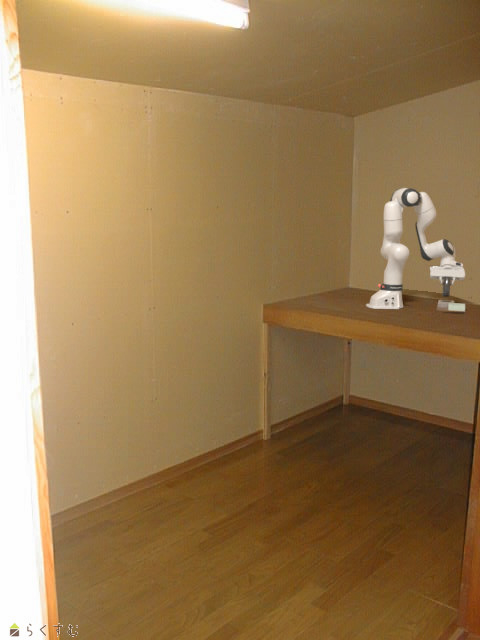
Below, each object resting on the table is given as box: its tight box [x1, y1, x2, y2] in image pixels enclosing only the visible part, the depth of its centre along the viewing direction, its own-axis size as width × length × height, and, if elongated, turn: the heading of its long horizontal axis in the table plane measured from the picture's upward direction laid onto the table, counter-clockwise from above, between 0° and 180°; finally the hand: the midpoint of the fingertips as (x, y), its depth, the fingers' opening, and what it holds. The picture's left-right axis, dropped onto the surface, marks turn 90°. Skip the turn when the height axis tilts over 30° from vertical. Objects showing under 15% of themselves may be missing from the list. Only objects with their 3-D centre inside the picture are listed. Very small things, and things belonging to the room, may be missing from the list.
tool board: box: [436, 303, 467, 315], centre depth 353 cm, size 22×16×2 cm
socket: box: [437, 299, 455, 307], centre depth 358 cm, size 9×9×3 cm
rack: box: [448, 302, 466, 312], centre depth 347 cm, size 9×9×3 cm
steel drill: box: [441, 276, 452, 298], centre depth 356 cm, size 4×4×12 cm
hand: (447, 284), depth 355 cm, fingers closed on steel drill, 4 cm apart
